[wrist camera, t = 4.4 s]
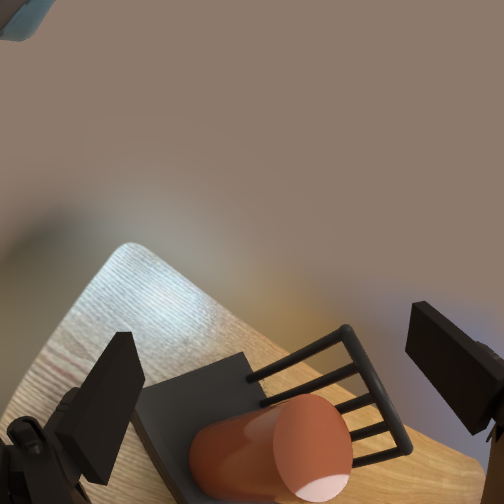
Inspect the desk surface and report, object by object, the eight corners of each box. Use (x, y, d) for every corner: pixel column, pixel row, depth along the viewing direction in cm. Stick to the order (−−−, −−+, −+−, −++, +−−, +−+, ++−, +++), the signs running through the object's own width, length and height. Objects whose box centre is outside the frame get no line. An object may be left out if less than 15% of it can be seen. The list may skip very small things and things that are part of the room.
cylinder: (171, 442, 20) (251, 427, 15) (238, 407, 27) (320, 376, 21) (218, 518, 18) (312, 525, 12) (276, 473, 24) (365, 458, 19)
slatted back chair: (120, 396, 21) (209, 340, 14) (237, 354, 32) (338, 293, 24) (224, 564, 15) (361, 587, 8) (311, 487, 26) (426, 463, 19)
